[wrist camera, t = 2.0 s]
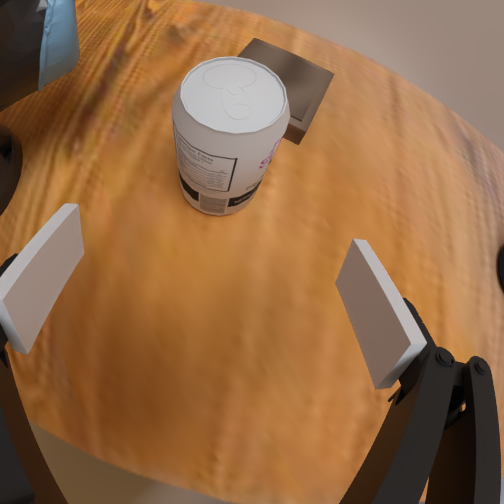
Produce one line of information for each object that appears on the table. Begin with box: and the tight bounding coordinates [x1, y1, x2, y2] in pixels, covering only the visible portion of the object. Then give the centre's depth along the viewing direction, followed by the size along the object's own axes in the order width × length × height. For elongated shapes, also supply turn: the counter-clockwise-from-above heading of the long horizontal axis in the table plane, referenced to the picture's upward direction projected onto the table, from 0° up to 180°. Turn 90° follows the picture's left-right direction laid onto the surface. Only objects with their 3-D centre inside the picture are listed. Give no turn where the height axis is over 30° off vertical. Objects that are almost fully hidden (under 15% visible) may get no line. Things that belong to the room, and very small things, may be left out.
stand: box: [237, 38, 334, 145], centre depth 34 cm, size 12×12×3 cm
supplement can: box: [172, 57, 290, 216], centre depth 25 cm, size 8×8×15 cm
